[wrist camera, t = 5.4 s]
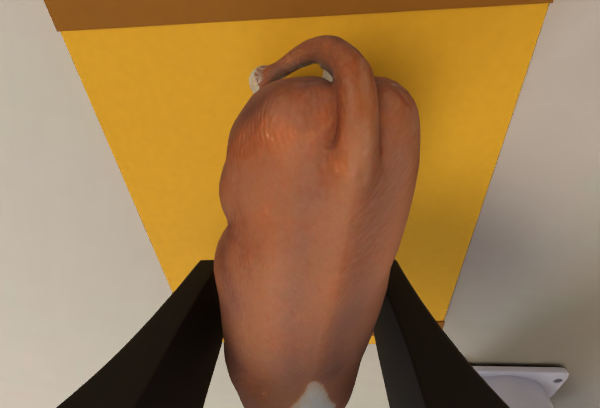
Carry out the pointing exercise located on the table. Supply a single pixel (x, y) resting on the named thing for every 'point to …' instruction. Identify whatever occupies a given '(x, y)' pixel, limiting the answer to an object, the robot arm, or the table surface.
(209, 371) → the robot arm
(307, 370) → the bull figurine
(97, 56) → the towel
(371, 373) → the table surface
